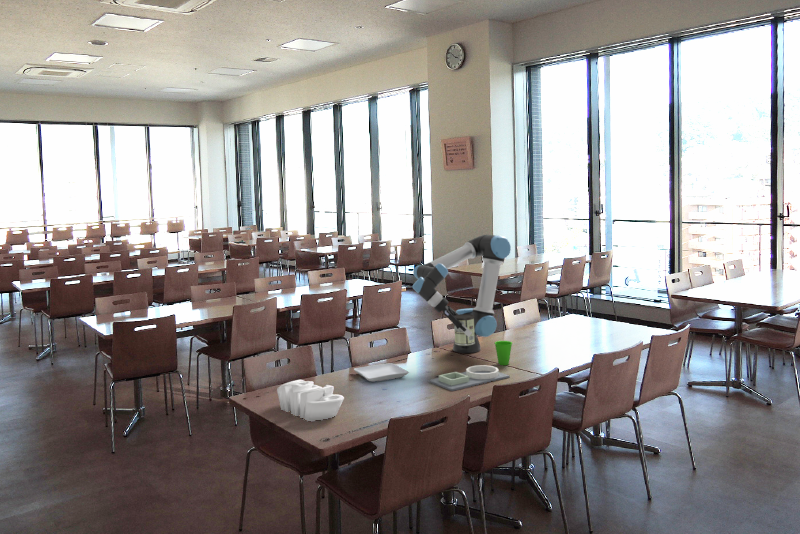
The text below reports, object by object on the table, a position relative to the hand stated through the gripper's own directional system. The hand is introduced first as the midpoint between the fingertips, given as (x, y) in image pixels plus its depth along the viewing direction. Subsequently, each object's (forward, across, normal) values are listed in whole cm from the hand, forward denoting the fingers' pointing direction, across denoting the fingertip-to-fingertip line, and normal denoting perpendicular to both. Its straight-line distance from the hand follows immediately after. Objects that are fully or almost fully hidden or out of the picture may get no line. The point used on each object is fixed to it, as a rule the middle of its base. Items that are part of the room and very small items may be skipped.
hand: (470, 332), depth 339 cm
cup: (+24, -2, -1) cm, 24 cm away
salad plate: (-19, +21, -42) cm, 51 cm away
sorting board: (+11, +27, -12) cm, 31 cm away
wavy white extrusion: (-35, +73, -57) cm, 99 cm away
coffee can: (+2, 0, -6) cm, 6 cm away
